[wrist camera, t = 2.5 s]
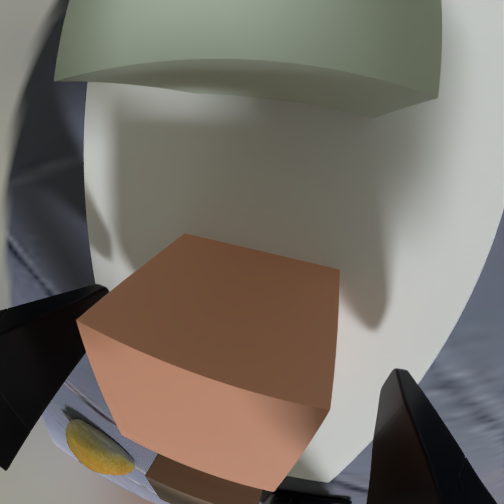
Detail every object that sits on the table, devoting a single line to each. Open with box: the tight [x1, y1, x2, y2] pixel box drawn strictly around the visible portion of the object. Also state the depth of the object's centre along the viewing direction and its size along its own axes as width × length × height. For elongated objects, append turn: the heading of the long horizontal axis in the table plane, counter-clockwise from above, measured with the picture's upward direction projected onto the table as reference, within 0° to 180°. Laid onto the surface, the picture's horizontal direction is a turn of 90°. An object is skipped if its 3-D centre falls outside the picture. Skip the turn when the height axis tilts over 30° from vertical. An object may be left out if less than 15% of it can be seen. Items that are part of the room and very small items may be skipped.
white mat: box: [84, 0, 504, 483], centre depth 9 cm, size 24×13×1 cm, turn 173°
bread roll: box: [66, 419, 135, 475], centre depth 22 cm, size 8×9×4 cm
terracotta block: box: [76, 233, 340, 492], centre depth 7 cm, size 4×4×4 cm
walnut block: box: [145, 453, 263, 504], centre depth 11 cm, size 4×4×4 cm
